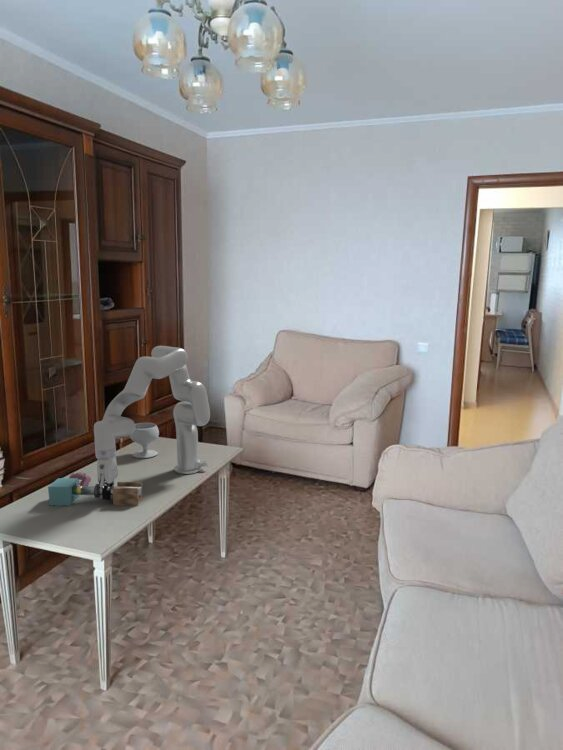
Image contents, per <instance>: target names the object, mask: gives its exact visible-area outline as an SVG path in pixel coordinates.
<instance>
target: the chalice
mask: <svg viewBox="0 0 563 750" xmlns="http://www.w3.org/2000/svg"><path fill="white" fill-rule="evenodd" d="M135 426H136V428H135V431H134V432H133V434H131V435H130V436H129V438H130V440H131V441H132V442H134V443H136V444H139V445H141V446H142V450H137V451H135V452H134V453H133V454H132V457H133V458H136V459H150V458H152V457H153V458H154V457H156V456H157V455H158V454H159V452H158V451H156V450H152V449H148V446H149V445H150V444H151V443H154V442H155V441H156V440H157V439H158V438H159V437H160V436H159V435H160V431H159V430H160V429H159V428H158V426H157V424H156V423H154V422H138V423H135Z"/></svg>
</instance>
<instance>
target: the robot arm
mask: <svg viewBox="0 0 563 750" xmlns="http://www.w3.org/2000/svg"><path fill="white" fill-rule="evenodd" d="M188 360H189V356H188V352H187V351H186V350H185V349H184V348H181V347H174V346H169V345H168V346H167V345H157V346H154V347H153V348H152V350H151V356H141V357H139V358H137V359H136V361H135V363H134V365H133V368H132V370H131V373H130V375H129V377H128V379H127V382H126V384H125V386H124V388H123V390H122V391H120V392H119V393H118V394H117V395H116V396H115V397H114V398H113V399H112V400H111V401H110V403H109V404H108V405H107V407H106V409H105V412H104V414H103V417H102V420H99V421H96V422H95V423H94V425H93V434H94V447H95V448H94V451H95V453H94V454H95V458H96V459H97V464H96V465H97V474H96V475H97V482H98V483H97V484H100V488H101V490H102V495H101V498H102V500H103V501H110V500H111V499H112V497H113V495H111V491H110V490H109V486H115V480H116V479H117V477H118V475H119V472H118V471H119V470H118V462H117V449H116V447H117V446H116V444H117V443H116V439H119V438H126V437H130V435H131V434H133V432H134V431H135V428H136V426H135V424H136V423H135V421H134V420H133V419H131V418H129V417H124V416H122V414H123V412H124V410H125V409H126V408H127V407H128V406H129V405H131V404H133V403H135V402H138V401H139V400H142V399H144V398H145V397H146V394H147V392H148V389H149V386H150V385H151V382H152V380H153V379H156V380H161V379H164V378H166V377H168V378H169V383H170V387H171V392H172V395H173V396H172V397H173V398H174V399H176V400H177V401H179V402H177V403H176V404H175V406H174V408H173V410H172V411H173V412H172V414H173V419H174V423H175V432H176V433H175V434H176V459H177V460H176V461H177V462H176V463H177V464H175V466H174V467H173V471H174V472H175V473H178V474H180V475H181V474H182V475H190V474H195V473H198V472H199V473H200V472H201V471H202V470H203V468H204V467H205V468H207V467H209V462H208V461H206V460H201V458H200V457H199V434H198V433H199V431H198V428H197V426H198V427H203V426H205V425H207V424H208V422H209V421H210V420H211V419H210V418H211V408H210V404H209V398H208V393H207V388H206V387H205V385H204V384H203V383H202V382H199V381H197V380H192V379H191V378H190V373H189V370H188V366H187V363H188Z"/></svg>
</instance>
